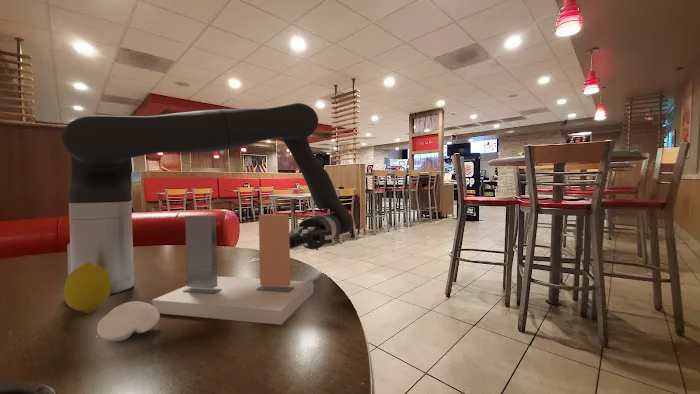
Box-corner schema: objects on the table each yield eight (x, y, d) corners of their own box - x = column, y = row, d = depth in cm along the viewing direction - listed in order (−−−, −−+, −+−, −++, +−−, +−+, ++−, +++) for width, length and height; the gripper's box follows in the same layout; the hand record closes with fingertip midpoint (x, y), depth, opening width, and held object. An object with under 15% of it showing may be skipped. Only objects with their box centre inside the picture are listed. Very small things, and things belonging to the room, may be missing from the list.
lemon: (84, 306, 48) (83, 259, 48) (120, 305, 48) (118, 258, 48) (53, 321, 42) (51, 267, 42) (93, 319, 43) (92, 266, 43)
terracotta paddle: (260, 285, 49) (258, 214, 49) (263, 282, 50) (262, 214, 50) (287, 286, 48) (285, 214, 48) (290, 284, 49) (288, 214, 49)
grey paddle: (187, 286, 49) (185, 216, 49) (192, 284, 50) (190, 215, 50) (212, 288, 48) (210, 216, 47) (217, 286, 49) (215, 215, 49)
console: (152, 312, 45) (151, 298, 45) (210, 285, 58) (209, 275, 58) (281, 324, 40) (281, 309, 40) (313, 292, 53) (313, 280, 53)
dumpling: (141, 323, 42) (140, 296, 42) (168, 327, 40) (168, 299, 40) (84, 348, 35) (83, 316, 35) (115, 355, 33) (114, 321, 33)
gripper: (292, 215, 72) (255, 223, 56) (343, 216, 70) (320, 223, 53) (293, 245, 73) (256, 261, 56) (343, 246, 70) (321, 264, 53)
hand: (287, 243), depth 54 cm, fingers closed
